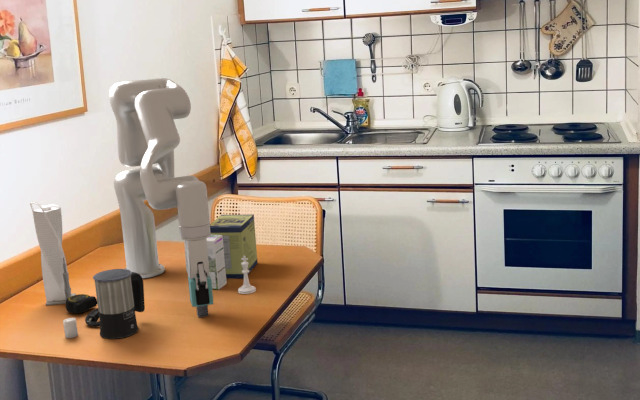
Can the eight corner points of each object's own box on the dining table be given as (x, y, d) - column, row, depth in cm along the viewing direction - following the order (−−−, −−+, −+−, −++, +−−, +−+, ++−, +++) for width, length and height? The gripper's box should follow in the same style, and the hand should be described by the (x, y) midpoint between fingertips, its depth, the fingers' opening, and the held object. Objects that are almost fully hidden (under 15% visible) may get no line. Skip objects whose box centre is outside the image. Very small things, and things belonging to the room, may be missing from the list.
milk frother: (129, 340, 193) (122, 280, 190) (67, 339, 196) (59, 280, 193) (151, 318, 206) (146, 262, 203) (94, 317, 210) (87, 262, 206)
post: (197, 314, 208) (194, 288, 206) (207, 312, 208) (204, 286, 207) (198, 317, 205) (195, 291, 204) (208, 316, 206) (206, 289, 204)
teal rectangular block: (190, 300, 208) (187, 275, 206) (210, 297, 209) (208, 273, 207) (192, 307, 203) (190, 281, 201) (213, 304, 204) (211, 278, 203)
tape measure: (78, 317, 211) (77, 303, 210) (61, 313, 214) (59, 299, 214) (99, 308, 216) (97, 295, 215) (81, 305, 220) (80, 291, 219)
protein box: (258, 263, 249) (254, 213, 245) (244, 279, 234) (240, 226, 230) (225, 263, 251) (221, 214, 247) (209, 279, 236) (205, 227, 232)
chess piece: (253, 294, 220) (250, 258, 218) (235, 293, 221) (232, 258, 219) (258, 288, 225) (255, 253, 223) (241, 288, 226) (238, 253, 224)
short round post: (65, 334, 199) (63, 319, 198) (78, 332, 199) (76, 317, 199) (65, 338, 196) (62, 323, 195) (77, 337, 197) (75, 321, 196)
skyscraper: (40, 306, 220) (26, 205, 214) (45, 296, 228) (32, 199, 222) (72, 302, 222) (59, 202, 216) (76, 293, 229) (63, 196, 223)
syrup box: (227, 283, 231) (223, 234, 228) (218, 290, 225) (213, 239, 222) (209, 282, 233) (204, 233, 229) (199, 289, 227) (195, 239, 224)
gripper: (176, 225, 209) (183, 292, 213) (183, 241, 193) (190, 313, 197) (205, 221, 211) (211, 288, 215) (215, 237, 195) (221, 309, 199)
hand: (201, 299), depth 206 cm, fingers closed on teal rectangular block, 5 cm apart
